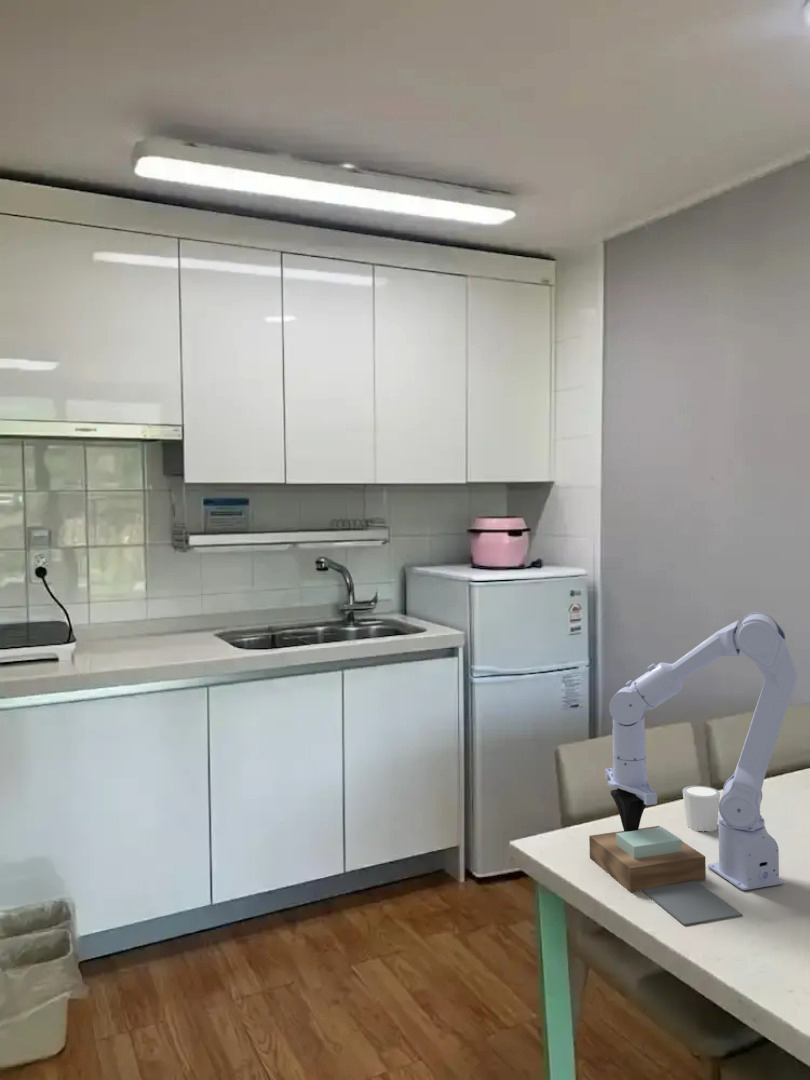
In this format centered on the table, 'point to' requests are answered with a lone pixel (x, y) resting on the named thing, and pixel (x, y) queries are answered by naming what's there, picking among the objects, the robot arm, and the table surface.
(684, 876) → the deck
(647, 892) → the mat
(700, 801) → the white short cylinder
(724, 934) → the table surface
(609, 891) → the table surface
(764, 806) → the table surface
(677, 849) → the mint green flat block
